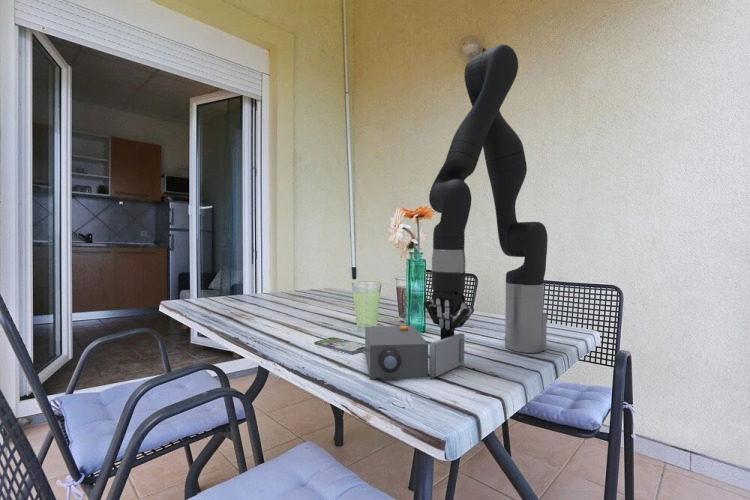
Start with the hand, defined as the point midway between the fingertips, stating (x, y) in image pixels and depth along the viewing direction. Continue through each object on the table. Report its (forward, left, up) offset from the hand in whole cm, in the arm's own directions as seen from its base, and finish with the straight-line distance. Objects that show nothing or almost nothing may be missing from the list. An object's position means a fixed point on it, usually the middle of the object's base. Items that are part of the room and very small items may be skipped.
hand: (447, 344), depth 82 cm
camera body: (+12, 0, -5) cm, 13 cm away
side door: (+1, +5, -4) cm, 6 cm away
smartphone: (+24, -16, -5) cm, 30 cm away
